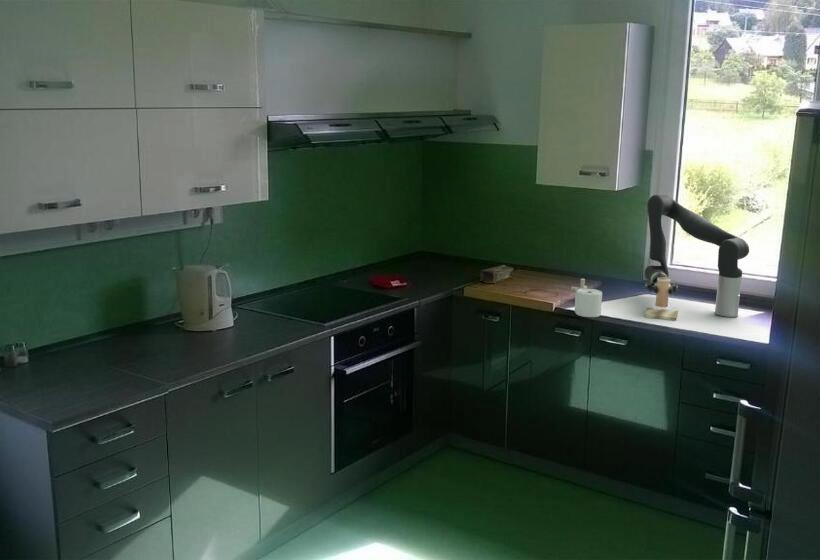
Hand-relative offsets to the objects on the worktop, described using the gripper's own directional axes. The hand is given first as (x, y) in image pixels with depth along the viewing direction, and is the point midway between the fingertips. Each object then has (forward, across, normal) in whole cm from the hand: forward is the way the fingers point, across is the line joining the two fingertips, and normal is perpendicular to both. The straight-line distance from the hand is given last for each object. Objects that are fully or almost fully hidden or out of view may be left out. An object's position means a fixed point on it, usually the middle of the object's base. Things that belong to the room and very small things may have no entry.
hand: (663, 291), depth 344 cm
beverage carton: (-49, -75, +13) cm, 91 cm away
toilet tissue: (+3, -31, +12) cm, 33 cm away
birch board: (-2, 0, +11) cm, 12 cm away
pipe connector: (-19, -33, +12) cm, 40 cm away
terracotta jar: (-3, 0, +7) cm, 7 cm away
